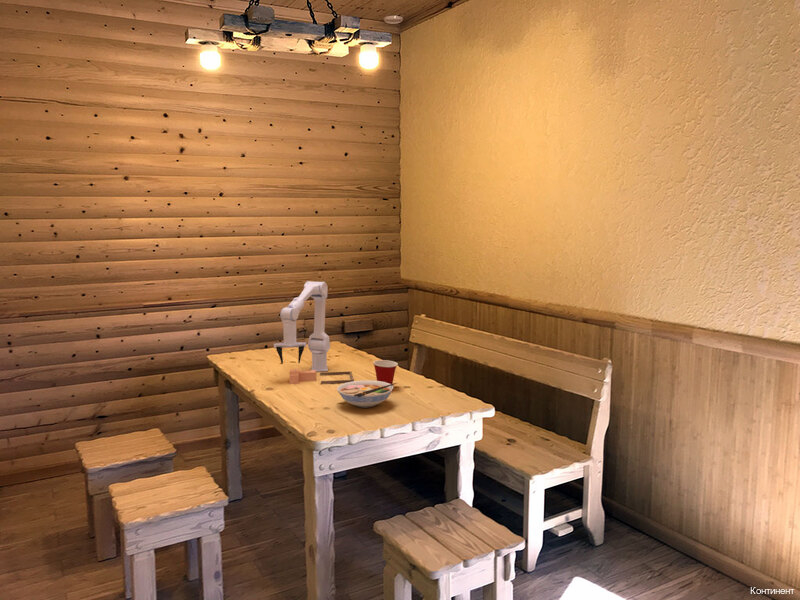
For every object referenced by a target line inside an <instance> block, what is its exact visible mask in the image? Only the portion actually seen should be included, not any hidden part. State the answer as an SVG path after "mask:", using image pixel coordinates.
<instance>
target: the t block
mask: <svg viewBox="0 0 800 600" xmlns="http://www.w3.org/2000/svg"><path fill="white" fill-rule="evenodd" d="M300 382H317V371H316V370H312V371H311V370H299V368H290V369H289V385H298V384H297V383H300Z"/></svg>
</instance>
